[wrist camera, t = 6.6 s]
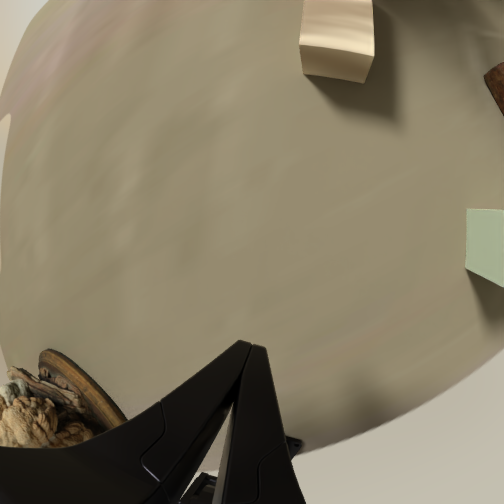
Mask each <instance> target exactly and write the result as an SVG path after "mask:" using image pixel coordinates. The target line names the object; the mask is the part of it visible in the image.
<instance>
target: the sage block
mask: <svg viewBox="0 0 504 504" xmlns="http://www.w3.org/2000/svg"><path fill="white" fill-rule="evenodd" d="M465 268H466V269H468V270H470V271H472V272H474V273H476V274H478V275H480V276H482V277H484V278H486V279H488V280H490V281H492V282H494V283H496V284H497V285H499V286H501V287H503V288H504V210H493V209H467V244H466V263H465Z"/></svg>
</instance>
